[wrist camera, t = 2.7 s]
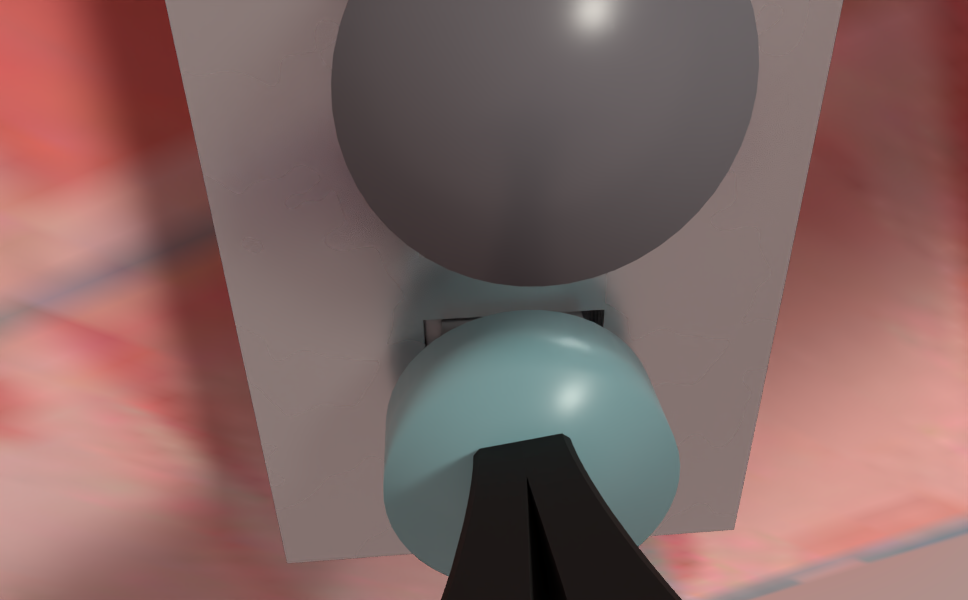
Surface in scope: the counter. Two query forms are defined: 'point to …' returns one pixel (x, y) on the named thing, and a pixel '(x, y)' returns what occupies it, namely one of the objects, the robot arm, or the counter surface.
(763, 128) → the panel
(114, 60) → the counter surface
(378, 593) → the counter surface
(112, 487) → the counter surface
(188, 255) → the counter surface
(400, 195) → the button charcoal
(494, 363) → the button teal
